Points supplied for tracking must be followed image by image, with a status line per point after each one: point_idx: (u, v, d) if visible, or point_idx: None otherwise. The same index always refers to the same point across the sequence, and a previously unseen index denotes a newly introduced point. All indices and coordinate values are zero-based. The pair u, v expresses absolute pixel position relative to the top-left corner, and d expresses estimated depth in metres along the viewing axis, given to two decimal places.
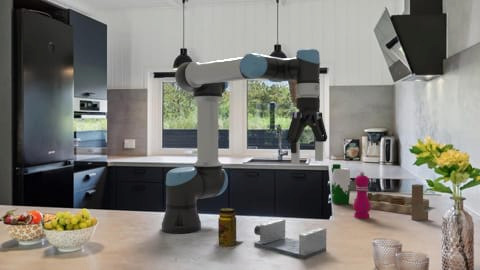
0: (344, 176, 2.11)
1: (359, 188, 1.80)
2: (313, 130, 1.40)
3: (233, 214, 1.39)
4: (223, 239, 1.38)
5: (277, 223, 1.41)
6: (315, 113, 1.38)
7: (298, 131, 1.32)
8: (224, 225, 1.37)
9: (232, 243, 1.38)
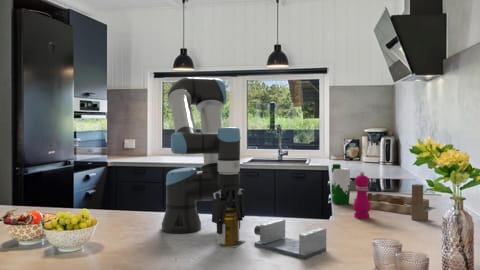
0: (344, 176, 2.11)
1: (359, 188, 1.80)
2: (232, 206, 1.43)
3: (235, 214, 1.39)
4: None
5: (277, 223, 1.41)
6: (237, 187, 1.42)
7: (221, 212, 1.37)
8: (225, 225, 1.38)
9: (234, 242, 1.38)
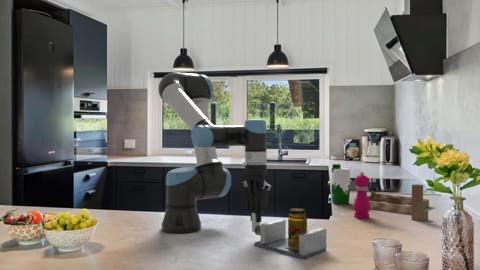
0: (344, 176, 2.11)
1: (359, 188, 1.80)
2: None
3: (304, 214, 1.32)
4: (294, 240, 1.31)
5: (277, 223, 1.41)
6: (260, 179, 1.42)
7: None
8: (295, 227, 1.31)
9: None
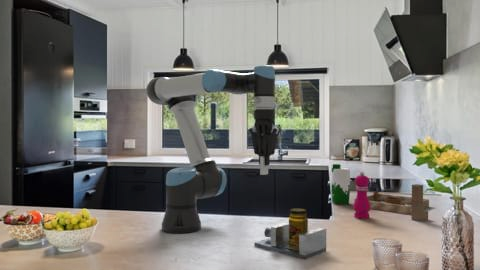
0: (344, 176, 2.11)
1: (359, 188, 1.80)
2: None
3: (305, 215, 1.32)
4: (295, 241, 1.31)
5: (288, 225, 1.38)
6: (269, 123, 1.47)
7: None
8: (296, 227, 1.30)
9: None
